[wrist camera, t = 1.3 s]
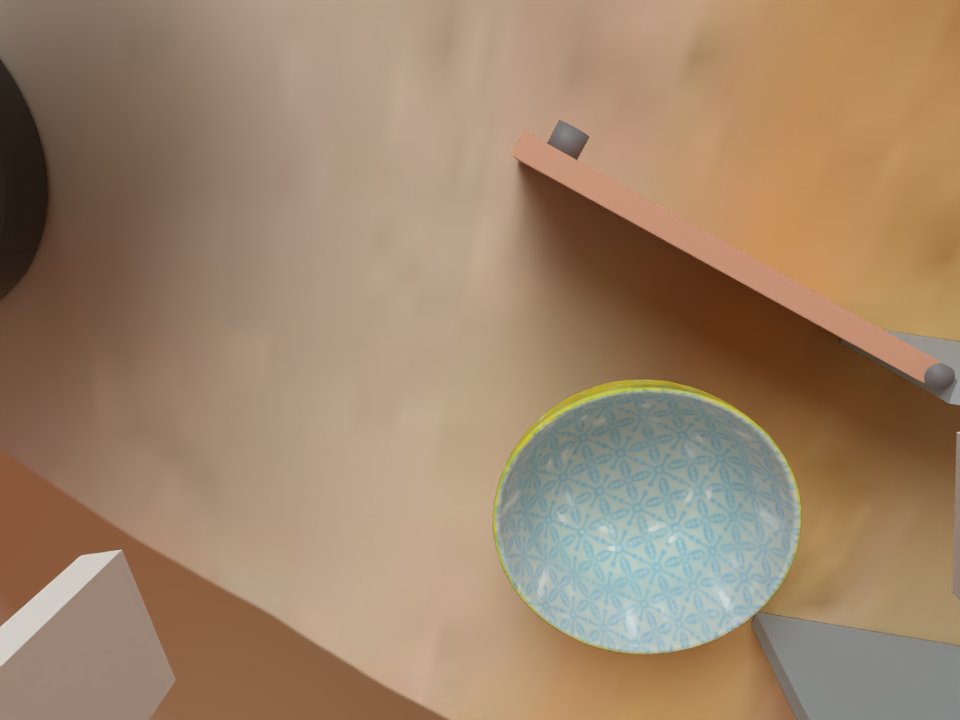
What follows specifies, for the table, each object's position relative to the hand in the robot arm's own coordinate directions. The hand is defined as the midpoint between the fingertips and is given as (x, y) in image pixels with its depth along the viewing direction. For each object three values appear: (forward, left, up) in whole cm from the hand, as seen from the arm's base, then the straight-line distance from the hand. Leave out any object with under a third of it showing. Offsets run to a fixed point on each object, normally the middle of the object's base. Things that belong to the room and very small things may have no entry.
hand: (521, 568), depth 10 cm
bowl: (+5, -6, -19) cm, 21 cm away
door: (+6, +5, -19) cm, 20 cm away
